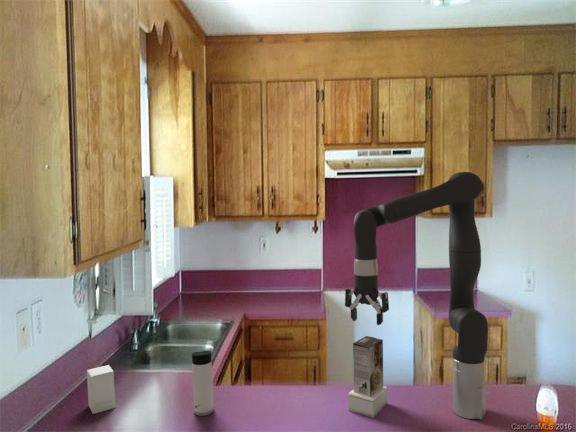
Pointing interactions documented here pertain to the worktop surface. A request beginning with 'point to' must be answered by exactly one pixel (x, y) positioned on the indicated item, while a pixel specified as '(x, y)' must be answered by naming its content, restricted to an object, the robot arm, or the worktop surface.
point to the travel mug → (202, 383)
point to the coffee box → (368, 365)
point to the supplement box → (101, 389)
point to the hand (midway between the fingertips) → (366, 322)
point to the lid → (367, 396)
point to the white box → (367, 405)
